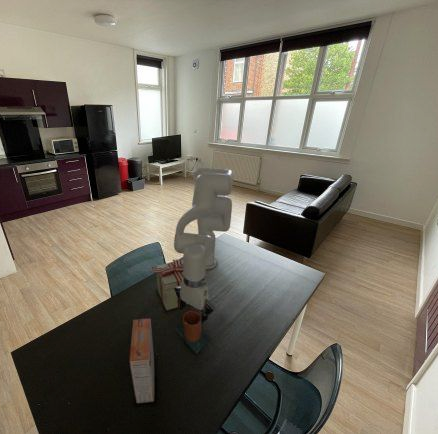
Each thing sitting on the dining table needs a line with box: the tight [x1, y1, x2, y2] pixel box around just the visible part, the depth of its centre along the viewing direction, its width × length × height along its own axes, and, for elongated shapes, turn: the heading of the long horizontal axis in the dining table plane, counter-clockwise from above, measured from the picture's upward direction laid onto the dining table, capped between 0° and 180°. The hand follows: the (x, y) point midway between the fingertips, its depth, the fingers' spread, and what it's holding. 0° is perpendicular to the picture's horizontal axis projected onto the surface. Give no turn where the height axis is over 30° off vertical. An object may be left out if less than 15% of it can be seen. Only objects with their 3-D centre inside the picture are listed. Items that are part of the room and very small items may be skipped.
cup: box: [182, 310, 202, 342], centre depth 91 cm, size 7×7×9 cm
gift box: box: [151, 258, 189, 311], centre depth 112 cm, size 17×18×17 cm
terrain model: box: [174, 326, 212, 354], centre depth 94 cm, size 13×8×2 cm, turn 40°
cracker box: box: [129, 317, 155, 404], centre depth 75 cm, size 14×6×21 cm, turn 5°
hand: (193, 313), depth 90 cm, fingers open, 9 cm apart
